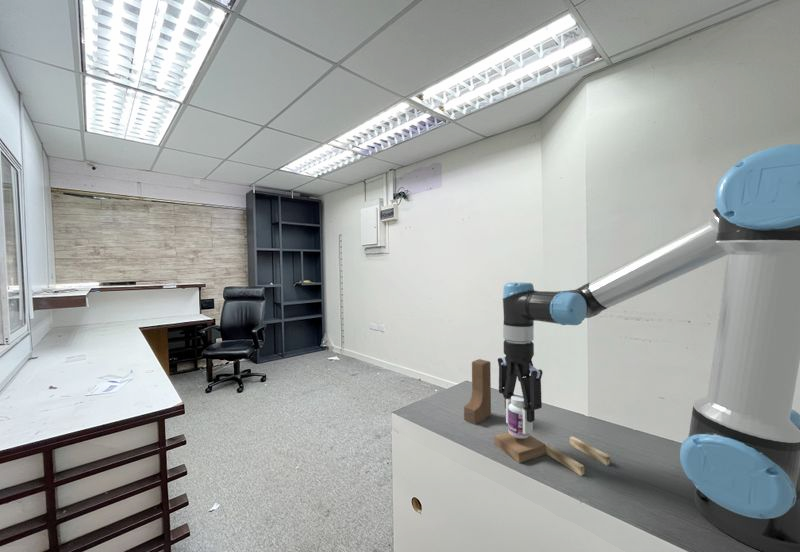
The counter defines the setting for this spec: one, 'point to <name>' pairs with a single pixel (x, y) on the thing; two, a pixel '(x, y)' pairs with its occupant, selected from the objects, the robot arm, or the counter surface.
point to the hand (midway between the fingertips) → (519, 427)
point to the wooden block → (479, 393)
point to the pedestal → (520, 446)
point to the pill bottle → (516, 417)
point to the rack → (571, 462)
